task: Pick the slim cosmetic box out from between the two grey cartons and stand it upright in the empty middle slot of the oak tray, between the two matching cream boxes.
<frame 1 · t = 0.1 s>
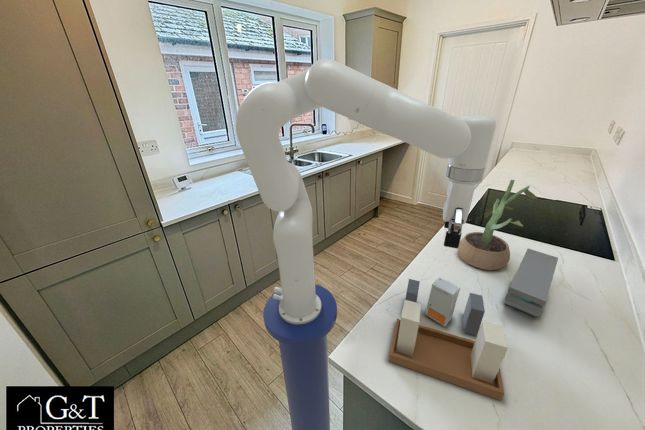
hand: (450, 237, 67), 25 cm above the worktop, tool pointing down, fingers open, 9 cm apart
potted plant: (485, 257, 101), on the worktop
cream box left: (405, 344, 67), point 1 cm above the worktop, touching tray
grey carton 1: (409, 309, 78), on the worktop
grey rectangular box: (523, 300, 81), on the worktop
grey carton 2: (469, 325, 72), on the worktop
tray: (441, 357, 64), on the worktop
cosmetic box: (438, 317, 75), on the worktop
cream box right: (481, 368, 61), point 1 cm above the worktop, touching tray
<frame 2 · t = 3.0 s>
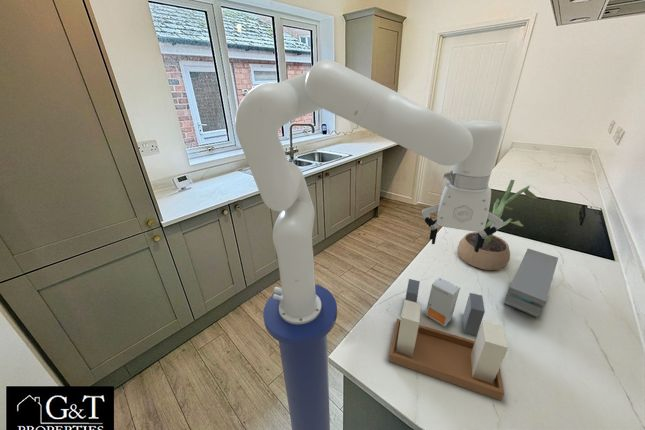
hand: (453, 245, 65), 24 cm above the worktop, tool pointing down, fingers open, 9 cm apart
nothing on the worktop moved.
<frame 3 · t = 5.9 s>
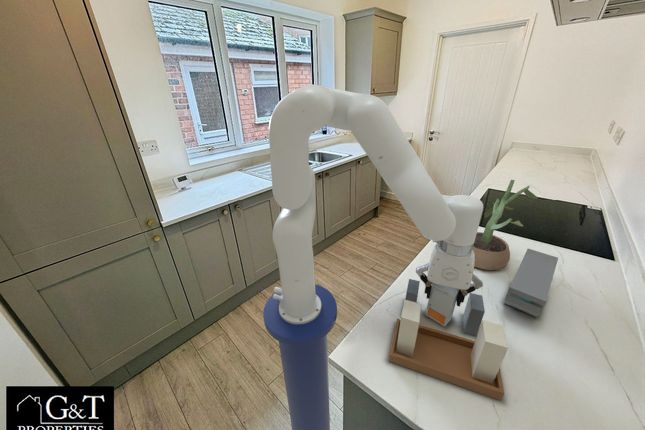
hand: (442, 298, 72), 7 cm above the worktop, tool pointing down, fingers closed on cosmetic box, 7 cm apart
cosmetic box: (438, 317, 75), on the worktop, touching gripper
everything else where it was.
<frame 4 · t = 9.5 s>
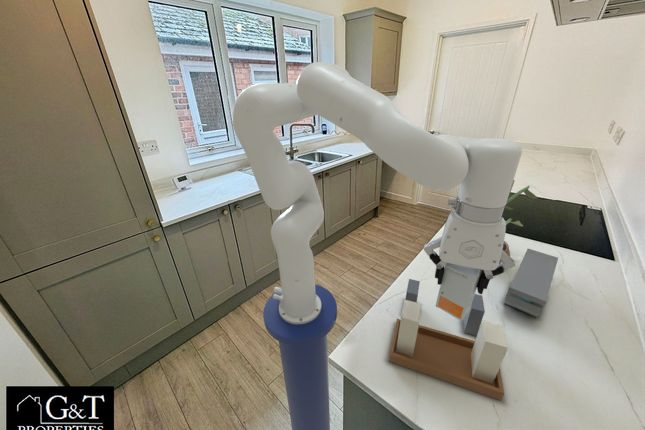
hand: (458, 284, 55), 22 cm above the worktop, tool pointing down, fingers closed on cosmetic box, 7 cm apart
cosmetic box: (452, 309, 59), point 15 cm above the worktop, touching gripper
everything else where it was.
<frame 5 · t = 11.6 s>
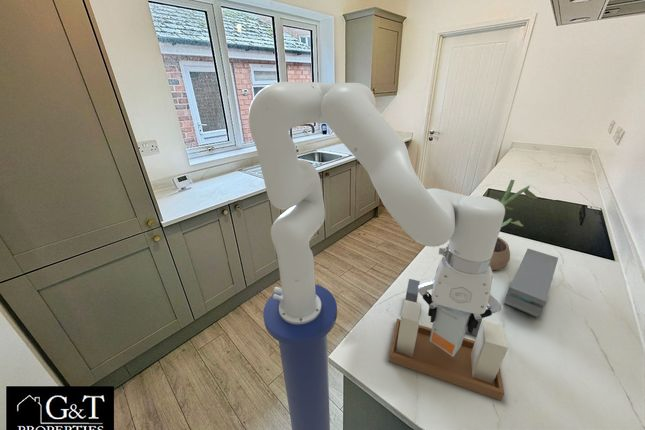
hand: (450, 322, 59), 12 cm above the worktop, tool pointing down, fingers closed on cosmetic box, 7 cm apart
cosmetic box: (444, 344, 62), point 5 cm above the worktop, touching gripper
everything else where it was.
when the fingers open (8 cm above the worktop, at t = 13.3 s): cosmetic box stays where it is, resting on tray.
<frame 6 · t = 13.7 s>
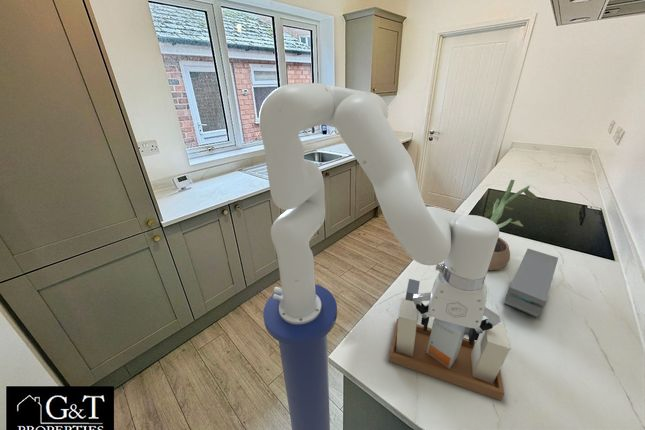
hand: (447, 333, 61), 9 cm above the worktop, tool pointing down, fingers open, 9 cm apart
cream box left: (405, 344, 67), point 1 cm above the worktop, touching gripper, tray
cosmetic box: (441, 356, 64), resting on tray
cream box right: (481, 368, 61), point 1 cm above the worktop, touching gripper, tray
everything else where it was.
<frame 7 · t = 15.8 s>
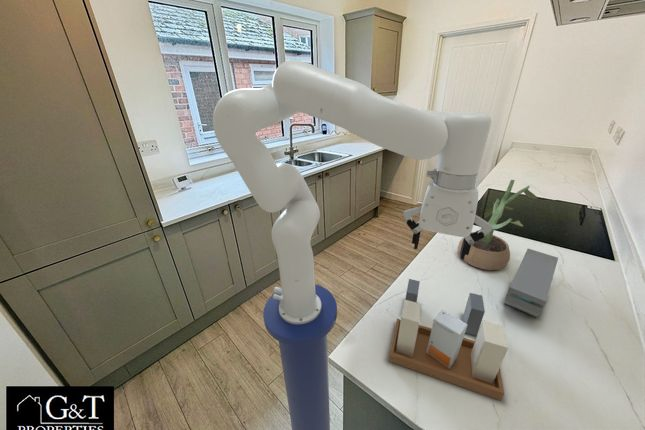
hand: (438, 251, 59), 27 cm above the worktop, tool pointing down, fingers open, 9 cm apart
cream box left: (405, 344, 67), point 1 cm above the worktop, touching tray
cream box right: (481, 368, 61), point 1 cm above the worktop, touching tray
everything else where it was.
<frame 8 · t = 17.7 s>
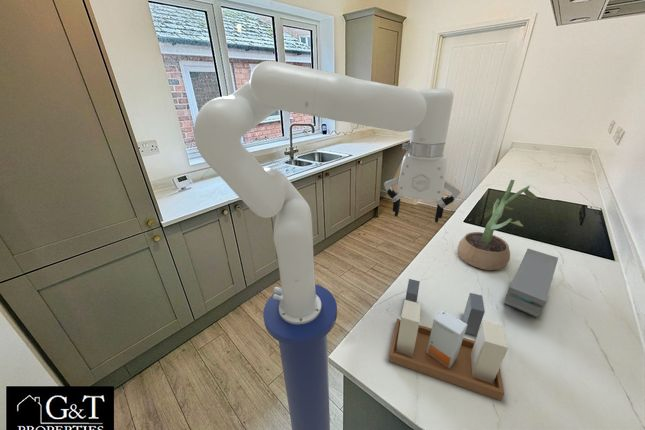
hand: (416, 217, 66), 30 cm above the worktop, tool pointing down, fingers open, 9 cm apart
nothing on the worktop moved.
at the end: cosmetic box 0.1 cm off-centre in the tray, point 0.4 cm above the tray's base; cosmetic box tilted 0°; the gripper is holding nothing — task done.
